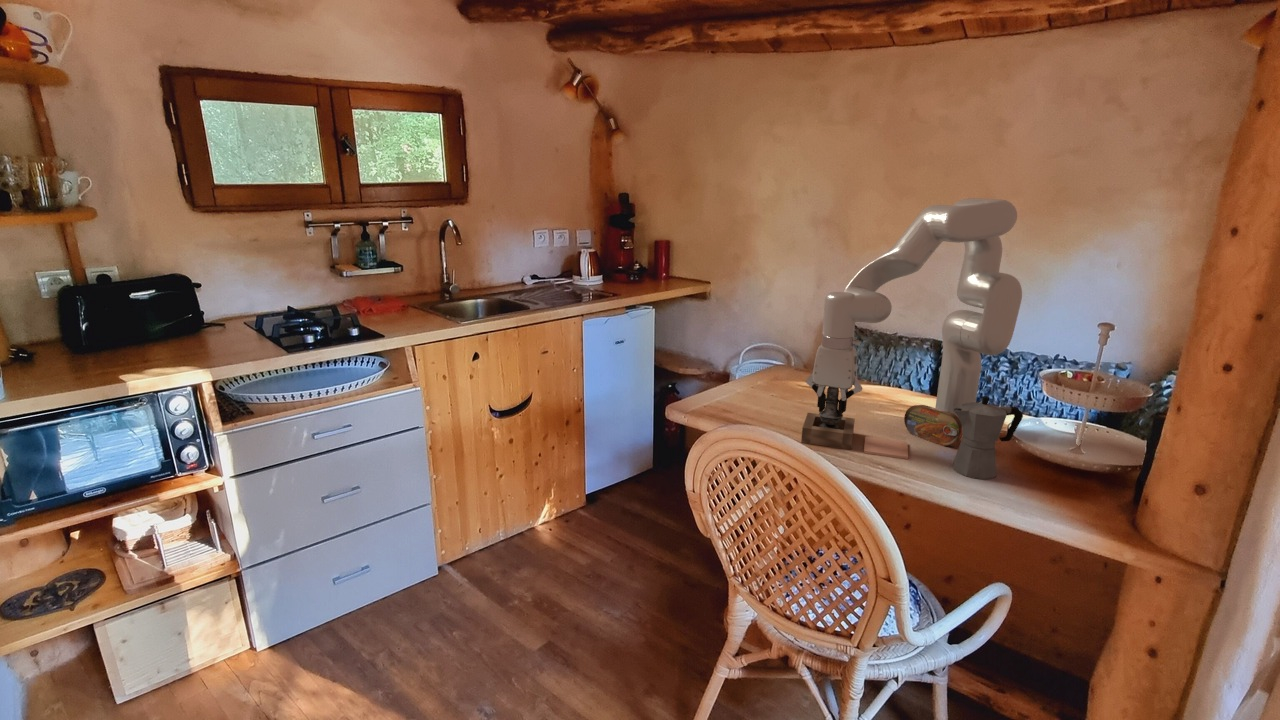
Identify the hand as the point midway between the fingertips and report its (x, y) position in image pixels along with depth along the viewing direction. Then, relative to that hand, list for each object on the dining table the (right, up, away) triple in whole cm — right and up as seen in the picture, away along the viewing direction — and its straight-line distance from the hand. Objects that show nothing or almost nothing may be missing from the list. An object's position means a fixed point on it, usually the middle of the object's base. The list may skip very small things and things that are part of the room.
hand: (831, 411), depth 164 cm
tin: (+26, -8, +2) cm, 27 cm away
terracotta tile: (+12, -9, -5) cm, 16 cm away
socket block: (0, -7, +2) cm, 7 cm away
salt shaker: (0, -4, +1) cm, 5 cm away
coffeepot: (+29, -13, -17) cm, 36 cm away
